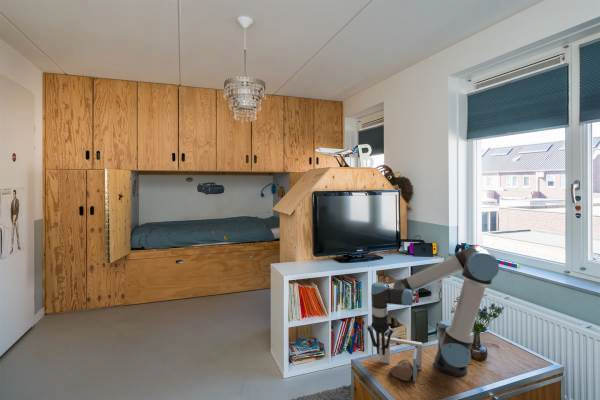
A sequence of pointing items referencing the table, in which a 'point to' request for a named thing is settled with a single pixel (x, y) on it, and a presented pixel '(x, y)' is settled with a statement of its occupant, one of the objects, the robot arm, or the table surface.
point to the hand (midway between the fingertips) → (381, 360)
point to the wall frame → (387, 351)
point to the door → (415, 363)
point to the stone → (402, 370)
